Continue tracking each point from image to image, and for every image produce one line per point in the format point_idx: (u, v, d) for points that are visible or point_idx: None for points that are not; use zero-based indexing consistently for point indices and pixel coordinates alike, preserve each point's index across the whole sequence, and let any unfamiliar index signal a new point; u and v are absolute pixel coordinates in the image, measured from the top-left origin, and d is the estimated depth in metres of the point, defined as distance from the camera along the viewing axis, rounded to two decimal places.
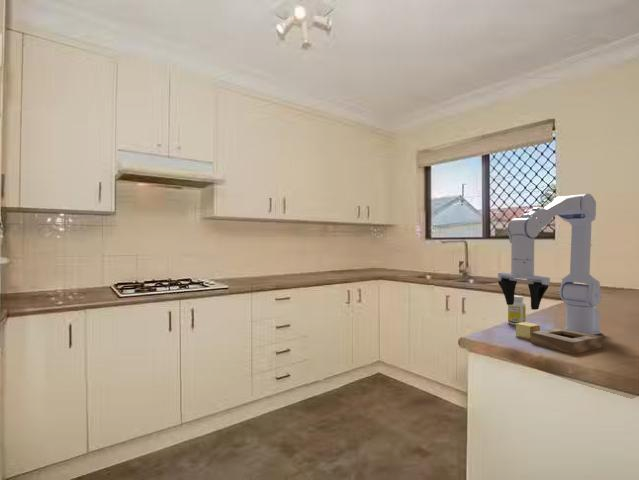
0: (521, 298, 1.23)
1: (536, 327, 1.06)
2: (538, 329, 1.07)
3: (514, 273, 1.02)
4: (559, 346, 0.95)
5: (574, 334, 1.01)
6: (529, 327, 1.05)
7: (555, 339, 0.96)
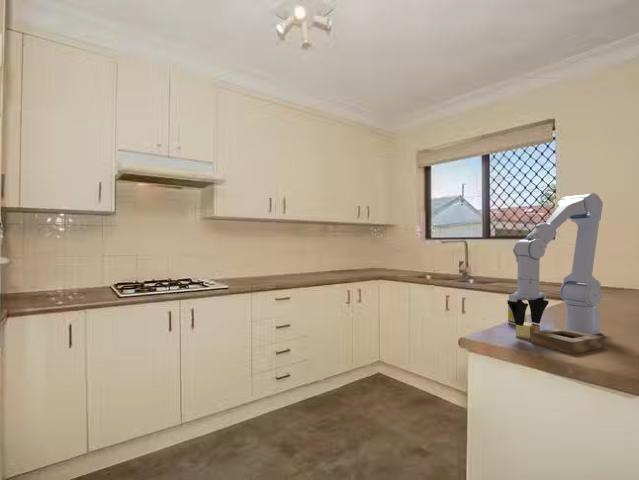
0: None
1: (536, 327, 1.06)
2: (538, 329, 1.07)
3: None
4: (559, 346, 0.95)
5: (574, 334, 1.01)
6: (529, 327, 1.05)
7: (555, 339, 0.96)
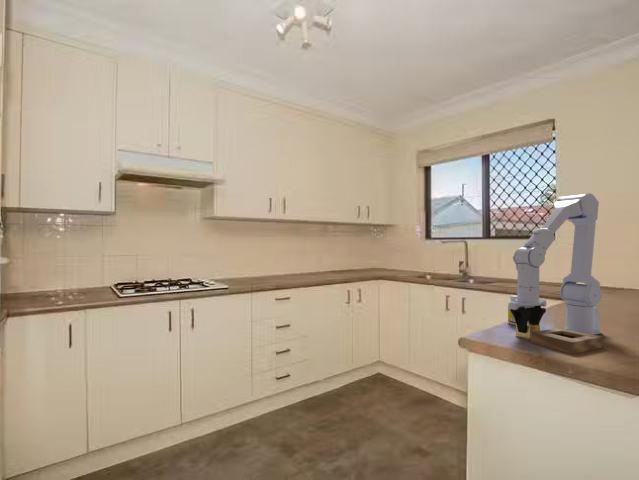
0: None
1: (536, 327, 1.06)
2: (538, 329, 1.07)
3: None
4: (559, 346, 0.95)
5: (574, 334, 1.01)
6: (529, 327, 1.05)
7: (555, 339, 0.96)
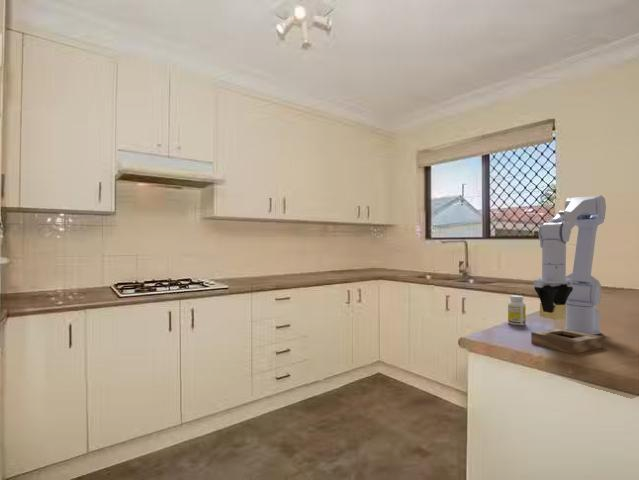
0: (521, 298, 1.23)
1: (562, 306, 1.01)
2: (564, 309, 1.01)
3: None
4: (559, 346, 0.95)
5: (574, 334, 1.01)
6: (555, 306, 1.00)
7: (555, 339, 0.96)
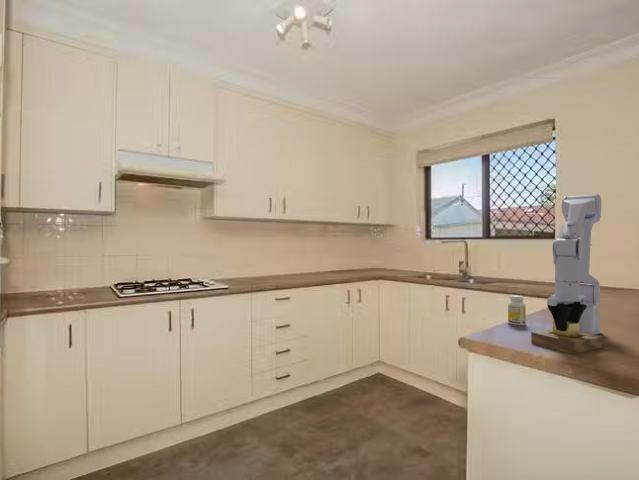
0: (521, 298, 1.23)
1: (575, 325, 0.98)
2: (577, 327, 0.99)
3: None
4: (559, 346, 0.95)
5: None
6: (568, 325, 0.97)
7: (555, 339, 0.96)
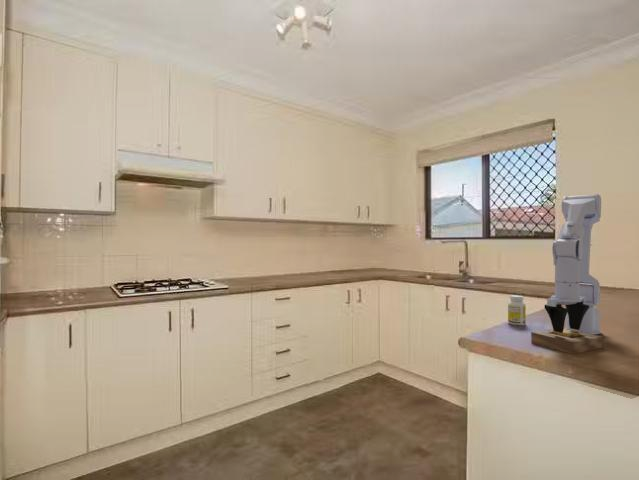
0: (521, 298, 1.23)
1: (576, 334, 0.98)
2: (578, 336, 0.99)
3: None
4: (559, 346, 0.95)
5: None
6: (568, 334, 0.97)
7: (555, 339, 0.96)
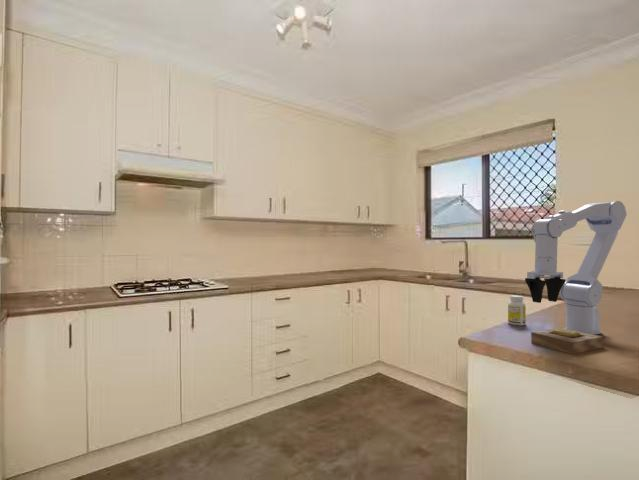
0: (521, 298, 1.23)
1: (576, 334, 0.98)
2: (578, 336, 0.99)
3: None
4: (559, 346, 0.95)
5: None
6: (568, 334, 0.97)
7: (555, 339, 0.96)
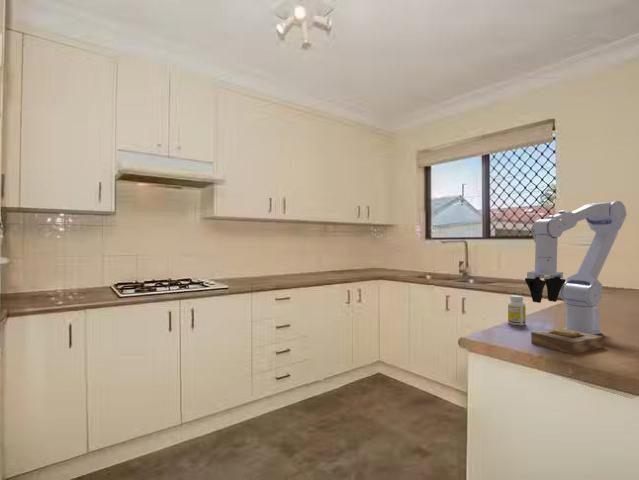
0: (521, 298, 1.23)
1: (576, 334, 0.98)
2: (578, 336, 0.99)
3: None
4: (559, 346, 0.95)
5: None
6: (569, 334, 0.97)
7: (555, 339, 0.96)
